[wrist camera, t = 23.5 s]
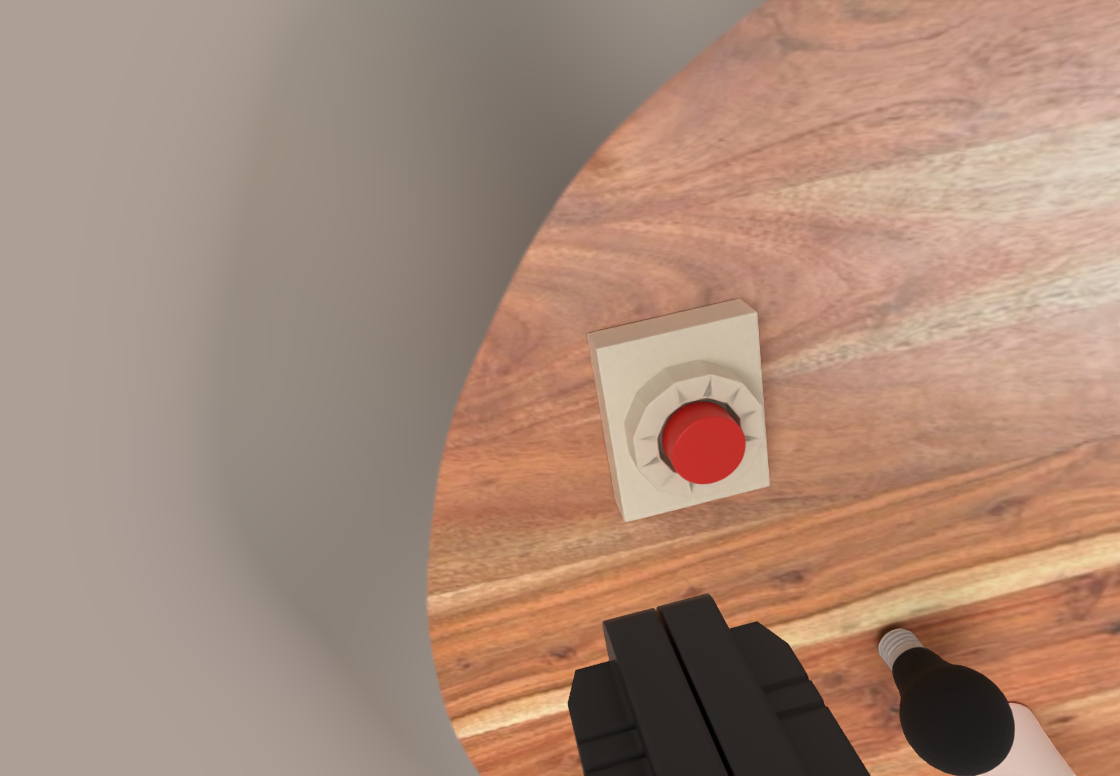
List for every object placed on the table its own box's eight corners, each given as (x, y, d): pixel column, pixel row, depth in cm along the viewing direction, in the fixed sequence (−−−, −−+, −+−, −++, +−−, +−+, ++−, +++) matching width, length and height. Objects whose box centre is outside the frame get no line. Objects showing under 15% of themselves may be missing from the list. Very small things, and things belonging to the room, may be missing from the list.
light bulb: (834, 625, 52) (925, 753, 43) (918, 582, 52) (1028, 701, 43) (860, 684, 54) (952, 816, 45) (941, 643, 54) (1049, 767, 45)
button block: (586, 333, 41) (604, 363, 37) (740, 297, 42) (773, 324, 38) (614, 500, 45) (633, 542, 42) (754, 466, 46) (784, 504, 42)
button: (657, 410, 39) (668, 427, 38) (729, 393, 39) (743, 408, 38) (666, 474, 41) (676, 492, 39) (735, 457, 41) (749, 474, 39)
